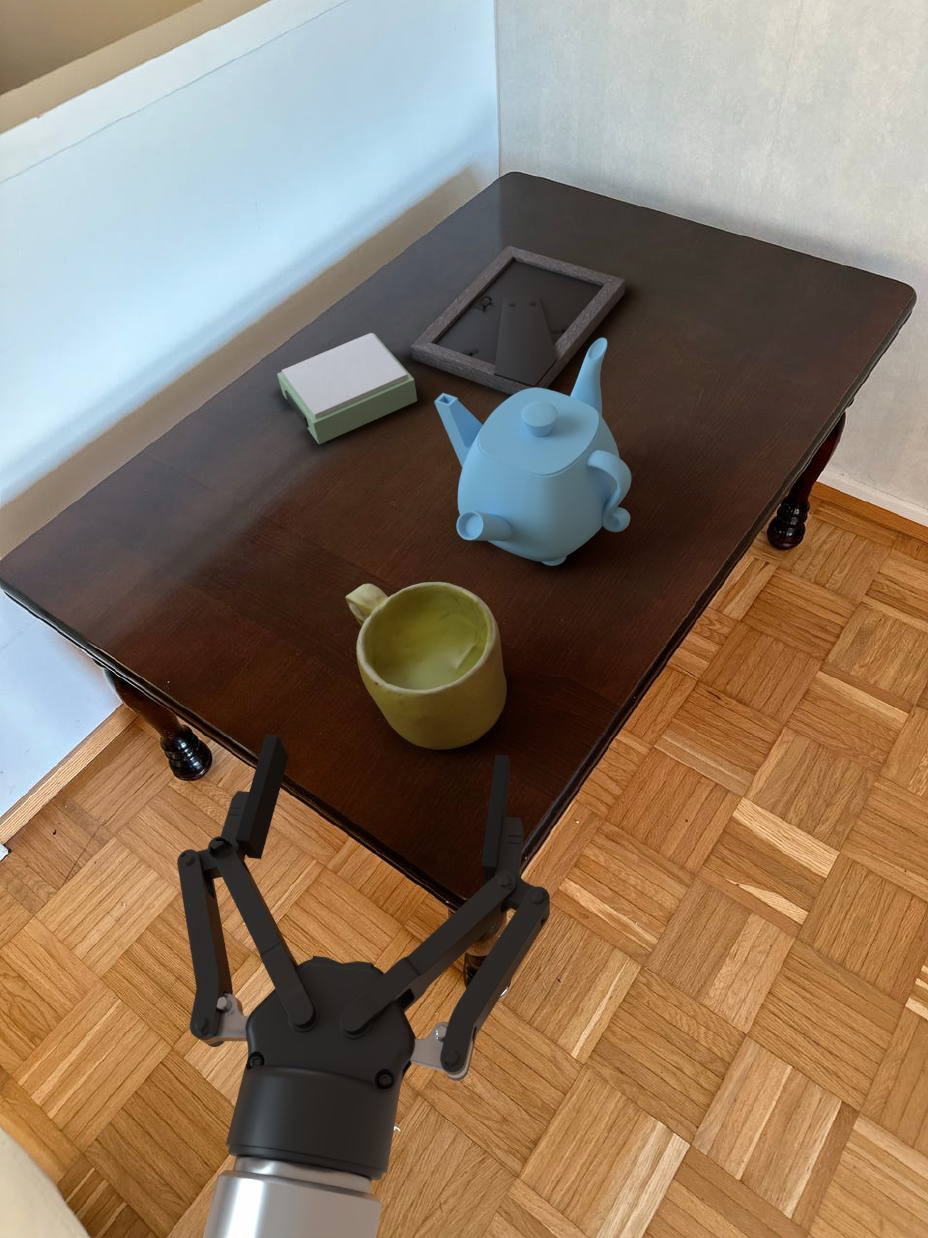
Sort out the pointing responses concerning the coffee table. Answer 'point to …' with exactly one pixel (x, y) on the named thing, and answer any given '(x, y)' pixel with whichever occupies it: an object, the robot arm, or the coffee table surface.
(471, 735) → the mug
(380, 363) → the scale
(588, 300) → the picture frame
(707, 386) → the coffee table surface
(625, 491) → the teapot
